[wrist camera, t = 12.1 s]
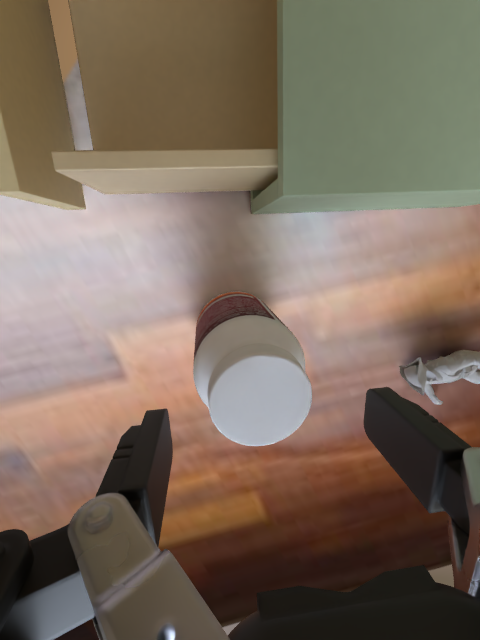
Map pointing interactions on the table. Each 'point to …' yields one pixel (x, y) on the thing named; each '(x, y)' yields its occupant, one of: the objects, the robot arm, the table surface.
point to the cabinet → (376, 106)
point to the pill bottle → (249, 370)
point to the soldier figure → (442, 371)
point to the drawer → (140, 99)
